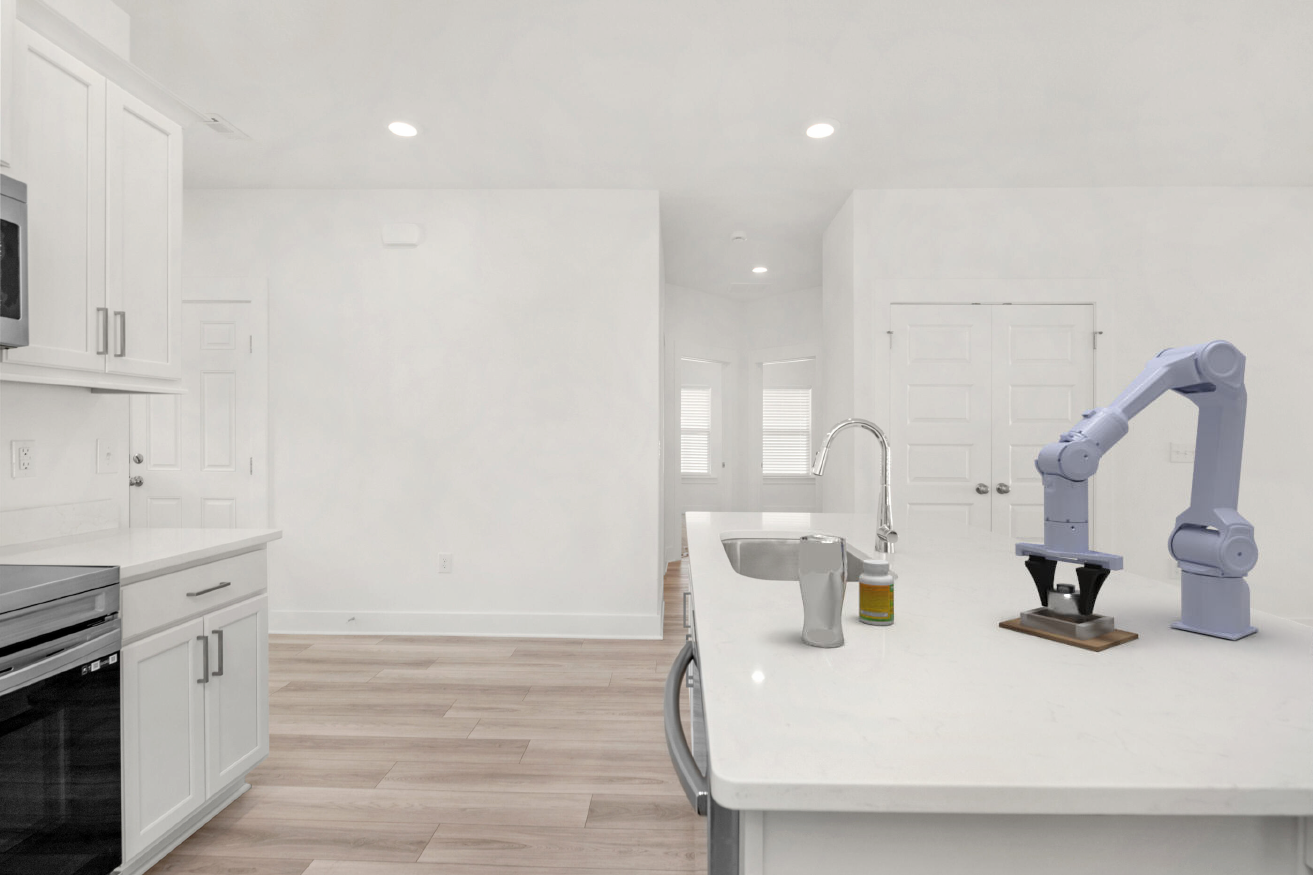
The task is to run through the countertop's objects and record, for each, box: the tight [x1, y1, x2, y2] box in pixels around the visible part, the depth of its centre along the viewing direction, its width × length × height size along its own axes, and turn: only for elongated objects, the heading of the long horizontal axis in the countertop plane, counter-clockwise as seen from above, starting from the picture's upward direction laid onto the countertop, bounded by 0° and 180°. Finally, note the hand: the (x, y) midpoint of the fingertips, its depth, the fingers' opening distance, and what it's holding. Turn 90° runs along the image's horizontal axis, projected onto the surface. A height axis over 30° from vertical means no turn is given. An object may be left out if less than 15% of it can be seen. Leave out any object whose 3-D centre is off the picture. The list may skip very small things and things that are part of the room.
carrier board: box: [998, 606, 1139, 652], centre depth 97 cm, size 12×14×3 cm
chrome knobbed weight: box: [1047, 582, 1087, 624], centre depth 97 cm, size 5×5×6 cm
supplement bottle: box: [858, 558, 895, 626], centre depth 104 cm, size 5×5×10 cm
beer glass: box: [797, 534, 848, 648], centre depth 93 cm, size 7×7×15 cm
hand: (1066, 609), depth 97 cm, fingers closed on chrome knobbed weight, 5 cm apart
